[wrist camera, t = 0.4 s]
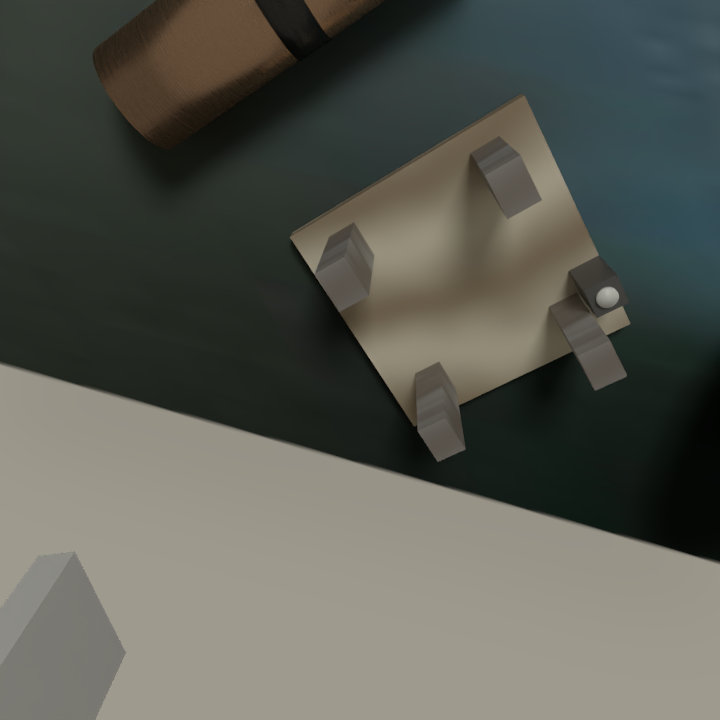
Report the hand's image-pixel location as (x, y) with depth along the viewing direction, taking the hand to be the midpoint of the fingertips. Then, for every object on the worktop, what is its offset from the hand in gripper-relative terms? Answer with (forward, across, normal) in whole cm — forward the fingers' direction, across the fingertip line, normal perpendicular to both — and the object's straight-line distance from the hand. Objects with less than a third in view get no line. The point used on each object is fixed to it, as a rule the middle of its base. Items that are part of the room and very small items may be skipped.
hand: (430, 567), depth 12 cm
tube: (+24, -4, +12) cm, 27 cm away
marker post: (+23, +9, -4) cm, 25 cm away
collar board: (+24, +2, -3) cm, 24 cm away
